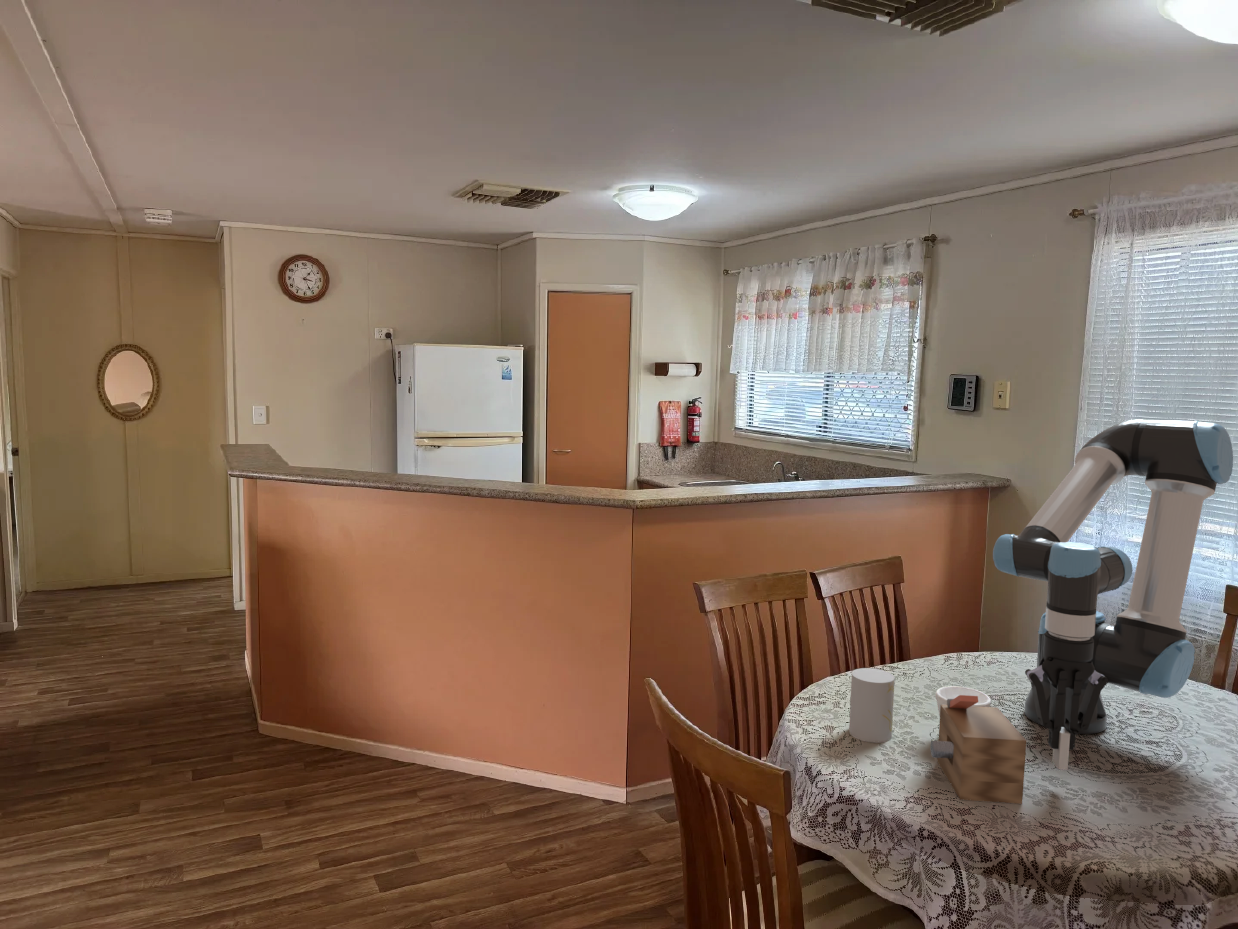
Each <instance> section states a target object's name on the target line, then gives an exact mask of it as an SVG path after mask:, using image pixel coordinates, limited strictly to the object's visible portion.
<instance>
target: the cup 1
mask: <svg viewBox="0 0 1238 929" xmlns="http://www.w3.org/2000/svg"><path fill="white" fill-rule="evenodd" d="M895 680H896V677H895V675H894V674H892V673H891V672H889V671H886V670H882V669H879V668H870V667H869V668H868V667H862V668H856V669H853V671H852V672H851V682H850V684H851V686H850V702H849V703H850V704H849V705H850V706H849V725H848V726H849V727H848V728H849V730H848V733H849V734H850V735H851V736H852V737H853V738H855V739H857V740H860V741H863V742H866V743H874V744H875V743H886V742H888V741H889V742H890V741H891V739H892V738H893V720H894V719H893V718H894V703H895V702H894V701H895V700H894V699H895V682H896V681H895Z"/></svg>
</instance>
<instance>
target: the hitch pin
mask: <svg viewBox="0 0 1238 929" xmlns="http://www.w3.org/2000/svg"><path fill="white" fill-rule="evenodd" d="M953 750H954V744H953V742H947V741H939V740H931V742H930V754H931V757H932V758H936V759H938V758H951V759H953Z"/></svg>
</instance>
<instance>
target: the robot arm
mask: <svg viewBox="0 0 1238 929" xmlns="http://www.w3.org/2000/svg"><path fill="white" fill-rule="evenodd" d="M1233 466H1234V452H1233V445H1232V440H1231V437H1230V434H1229V432H1228V431H1227V429H1226V428H1225V427H1224V426H1223V425H1221V424H1219V423H1215V422H1205V421H1204V422H1203V421H1199V420H1194V421H1193V420H1167V419H1166V420H1163V419H1161V420H1160V419H1147V418H1146V419H1145V418H1137V419H1136V418H1135V419H1129V420H1126V421H1122V422H1119V423H1117V424H1114V425H1112V426H1110V427H1108V428H1106V429H1104V430H1102V431H1101V432H1099V433H1098V434H1096V435H1095V436H1093V437H1092V438H1091V439H1089V440H1088V441H1087V442H1086V443H1085V444H1084V445H1083V446H1082V447H1081V449H1080V450H1079V451H1078V452H1077V453H1076V455H1075V459H1074V465H1073V466H1072V468H1071V470H1070V471H1069V472H1068V474H1066V475H1065V477H1064V478H1063V480H1061V482H1060V483H1059V484H1058V486H1057V487H1056V489H1054V491H1053V492H1052V493H1051V494H1050V496H1049V497H1048V498H1047V499H1046V501H1045V502H1044V503H1043V505H1042V506H1041V507H1040V508H1039V509H1038V511H1037V512H1036V513H1035V515H1033V517H1032V518H1031V520H1029V522H1028V524H1027V525H1026V526H1025V527H1024V528H1023V530H1022V531H1021V532H1020V533H1019V534H1018V535H1017V534H1015V533H1011V534H1009V533H1005V534H1002V535H1000V536H999V537H998V538H997V539H996V541H995V543H994V546H993V549H992V560H993V562H994V566H995V568H996V569H997V570H998V571H999V572H1002V573H1006V574H1008V575H1012V576H1016V577H1021V578H1026V579H1031V580H1038V581H1043V582H1047V591H1046V592H1047V593H1046V596H1047V597H1046V603H1045V604H1046V605H1045V606H1046V607H1045V612H1044V613H1043V614H1042V615H1041V617H1040V621H1039V628H1038V631H1037V634H1038V641H1037V658H1036V667H1035V668H1034V669H1030V668H1028V669H1026V670H1025V672H1024V674H1025V675H1026V677H1027V679H1028V681H1029V682H1030V685H1031V686H1030V690H1029V692H1028V695H1027V697H1026V699H1025V702H1024V710H1023V711H1024V715H1025V716H1026V717H1027V718H1028V719H1030V720H1031V721H1033V722H1034V723H1036V724H1038V725H1040V726H1043V727H1044V728H1045V729H1048V739H1047V740H1048V742H1047V743H1048V745H1049V747H1051V749H1053V750H1052V758H1051V759H1052V760H1051V761H1052V764H1053V765H1054V766H1055V767H1056V769H1057V770H1062V771H1063V770H1064V771H1068V769H1069V754H1070V753H1069V752H1070V750H1071V751H1072V750H1074V749H1075V745H1076V736H1077V735H1079V734H1080V735H1081V734H1082V735H1084V734H1085V735H1087V734H1098V733H1101V732H1103V731H1105V730H1106V728H1107V722H1108V721H1107V720H1108V717H1107V712H1106V708H1105V705H1104V701H1103V698H1102V694H1101V692H1102V690H1103V689H1104V688H1105V686H1106V685H1107V684H1110V685H1113V686H1117V687H1121V688H1123V689H1128V690H1132V691H1134V692H1139V693H1140V694H1143V695H1149V696H1154V697H1157V698H1164V699H1165V698H1166V699H1167V698H1168V699H1169V698H1171V697H1174V696H1176V695H1177V694H1178V693H1179V692H1180V691H1181V689H1183V687H1184V686H1185V685H1186V683H1187V681H1188V679H1189V677H1190V675H1191V672H1192V670H1193V666H1194V662H1195V652H1196V651H1195V646H1194V644H1193V643H1192V642H1191V641H1189V640H1188V639H1186V636H1187V633H1188V632H1187V630H1186V629H1185V627H1184V626H1183V624H1182V623H1181V622H1180V619H1181V618H1180V617H1181V613H1182V608H1183V604H1184V603H1183V602H1184V598H1185V592H1186V588H1187V583H1188V579H1189V578H1188V577H1189V573H1190V569H1191V563H1192V558H1193V553H1194V549H1195V543H1196V538H1197V535H1198V534H1197V533H1198V528H1199V524H1200V519H1201V515H1202V510H1203V503H1204V501H1205V500H1206V499H1208V498H1210V497H1211V496H1214V494H1216V489H1217V485H1222V484H1227V483H1228V482H1229V481H1230V478H1231V475H1232V473H1233ZM1126 476H1127V477H1128V476H1141V477H1145V480H1144V484H1145V485H1146V487H1147V489H1149V490H1150V492H1151V494H1150V495H1151V496H1150V498H1149V499H1150V500H1149V505H1148V509H1147V514H1146V518H1145V524H1144V528H1143V529H1144V530H1143V533H1142V537H1141V544H1140V547H1139V553H1138V558H1137V562H1136V567H1135V571H1134V577H1133V582H1132V586H1131V591H1130V597H1129V601H1128V607H1127V608H1126V609H1125V610H1123V611H1122V612H1120V613H1118V614H1117V615H1116V619H1115V623H1109V622H1106V621H1107V620H1106V619H1107V618H1106V616H1105V614H1104V613H1103V612H1100V611H1098V610H1097V608H1098V607H1097V605H1098V597H1099V596H1098V595H1101V594H1104V593H1106V592H1107V593H1109V592H1111V591H1114V590H1118V589H1119V588H1120V587H1122V586H1124V585H1126V584H1127V583H1128V582H1129V580H1130V579H1131V577H1132V574H1133V569H1134V568H1133V563H1132V561H1131V559H1130V557H1129V556H1128V554H1126V553H1125V551H1122V550H1121V549H1119V548H1116V547H1113V546H1099V547H1097V546H1096V545H1092V544H1088V543H1083V542H1074V541H1073V542H1071V541H1070V539H1071V538H1072V537H1073V536H1074V534H1075V533H1076V532H1077V531H1078V529H1079V528H1080V526H1081V525H1082V524H1083V522H1084V521H1085V520H1086V519H1087V517H1088V516H1089V515H1090V513H1091V512H1092V511H1093V509H1094V508H1095V506H1096V505H1097V503H1098V502H1100V500H1101V498H1102V497H1103V496H1104V495H1105V493H1106V492H1107V490H1109V488H1110V487H1111V486H1113V485H1116V484H1118V483H1120V482H1121V481H1122V480H1123V479H1124V478H1125V477H1126Z"/></svg>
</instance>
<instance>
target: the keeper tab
mask: <svg viewBox="0 0 1238 929" xmlns="http://www.w3.org/2000/svg"><path fill="white" fill-rule="evenodd" d="M977 702H978V696H966V695H959V696H958V697H956V698H954V699H947V706H948V708H960V709H967V708H969V707H971V706H972V705H974V704H976V703H977Z"/></svg>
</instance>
